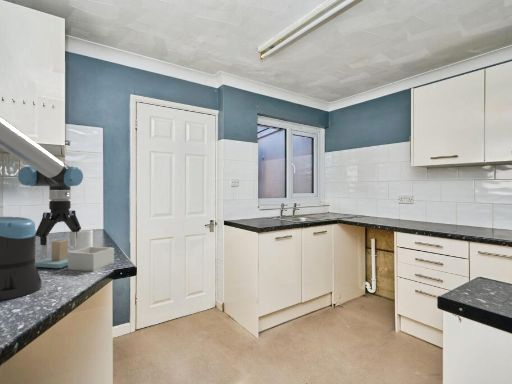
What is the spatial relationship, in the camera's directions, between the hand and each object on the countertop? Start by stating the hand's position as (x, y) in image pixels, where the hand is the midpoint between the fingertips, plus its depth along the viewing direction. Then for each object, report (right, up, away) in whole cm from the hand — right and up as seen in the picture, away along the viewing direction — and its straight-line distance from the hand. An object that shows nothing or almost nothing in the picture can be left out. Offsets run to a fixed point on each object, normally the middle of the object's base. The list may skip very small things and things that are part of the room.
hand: (59, 249), depth 120 cm
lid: (0, -6, 0) cm, 6 cm away
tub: (+15, -7, -2) cm, 16 cm away
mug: (-4, -7, +19) cm, 21 cm away
